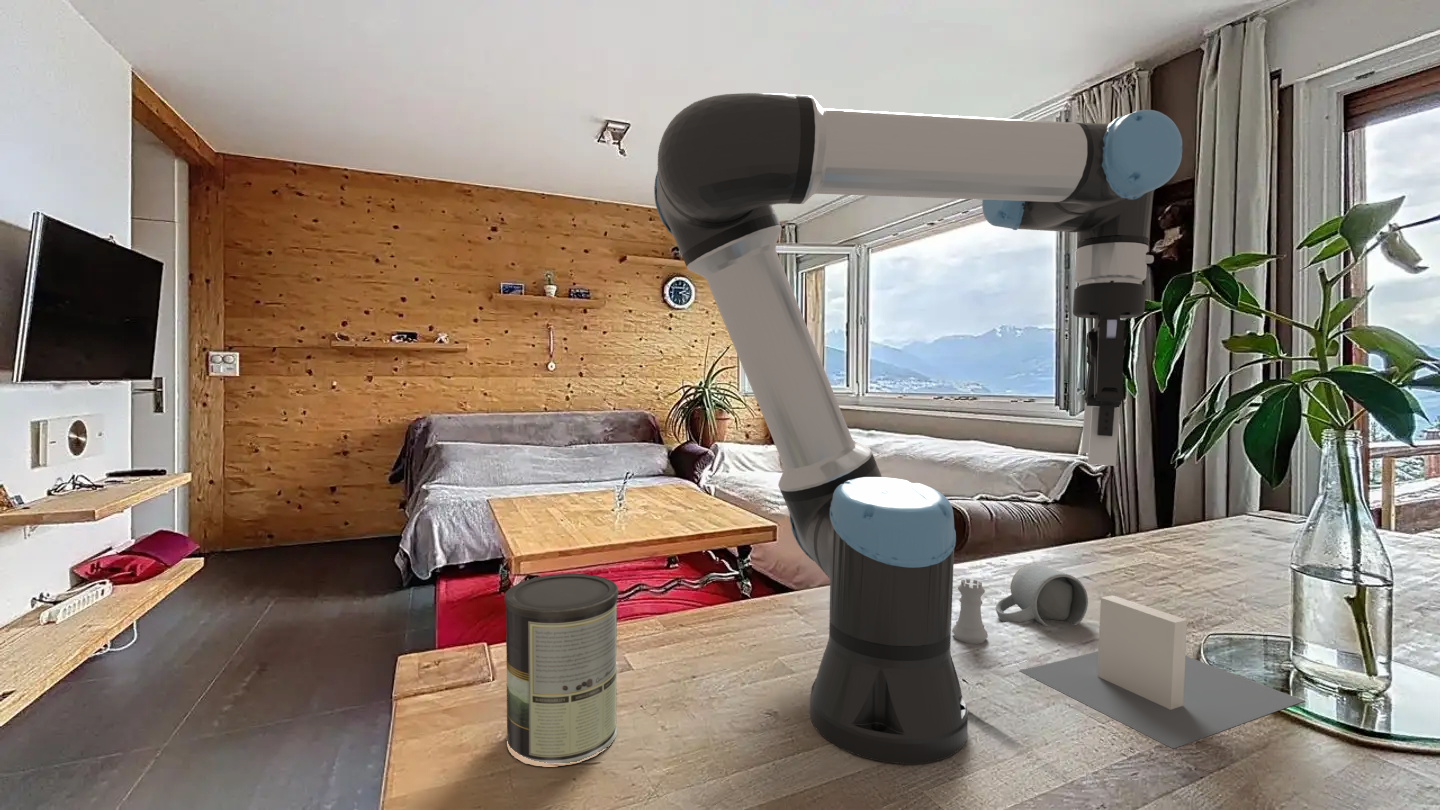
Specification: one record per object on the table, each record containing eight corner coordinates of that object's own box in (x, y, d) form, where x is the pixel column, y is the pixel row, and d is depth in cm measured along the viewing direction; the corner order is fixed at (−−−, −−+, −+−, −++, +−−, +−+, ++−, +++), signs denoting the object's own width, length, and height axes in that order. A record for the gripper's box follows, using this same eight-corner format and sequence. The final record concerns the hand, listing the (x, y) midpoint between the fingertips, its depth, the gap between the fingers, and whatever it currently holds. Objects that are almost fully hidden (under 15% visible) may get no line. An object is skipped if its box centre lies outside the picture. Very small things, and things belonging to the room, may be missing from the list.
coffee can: (480, 753, 60) (479, 600, 60) (549, 701, 70) (549, 568, 69) (578, 780, 57) (578, 616, 56) (637, 721, 66) (637, 580, 65)
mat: (1172, 757, 61) (1173, 748, 61) (1019, 677, 76) (1019, 670, 76) (1304, 708, 70) (1304, 700, 70) (1143, 646, 86) (1143, 640, 85)
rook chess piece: (973, 653, 83) (975, 590, 82) (943, 641, 86) (945, 580, 86) (995, 645, 85) (997, 584, 85) (965, 634, 89) (967, 574, 88)
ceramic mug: (1053, 608, 99) (1054, 557, 98) (1088, 630, 91) (1090, 574, 90) (984, 611, 98) (985, 560, 97) (1013, 633, 90) (1014, 577, 89)
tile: (1170, 709, 68) (1174, 622, 67) (1097, 676, 75) (1100, 597, 75) (1183, 705, 69) (1187, 619, 68) (1109, 673, 76) (1113, 595, 76)
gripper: (1163, 267, 68) (1147, 474, 69) (1133, 296, 91) (1121, 451, 92) (1079, 269, 71) (1066, 466, 73) (1070, 296, 94) (1060, 447, 95)
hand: (1097, 458), depth 82 cm, fingers open, 13 cm apart
